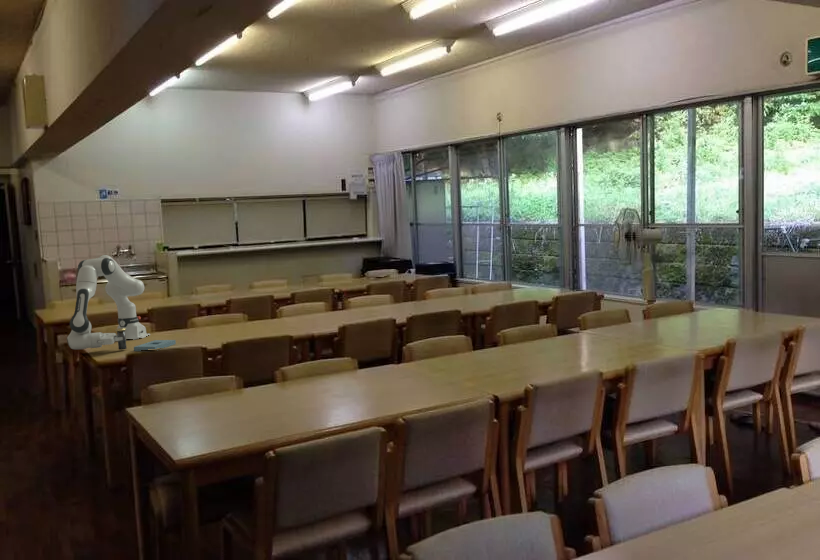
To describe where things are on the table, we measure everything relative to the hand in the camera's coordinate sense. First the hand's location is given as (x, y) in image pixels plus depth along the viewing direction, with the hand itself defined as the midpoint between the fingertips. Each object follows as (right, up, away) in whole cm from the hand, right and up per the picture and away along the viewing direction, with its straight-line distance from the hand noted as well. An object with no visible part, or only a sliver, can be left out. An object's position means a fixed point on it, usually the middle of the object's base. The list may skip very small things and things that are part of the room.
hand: (123, 337), depth 428 cm
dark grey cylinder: (0, -7, 0) cm, 7 cm away
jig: (+17, -6, +5) cm, 19 cm away
